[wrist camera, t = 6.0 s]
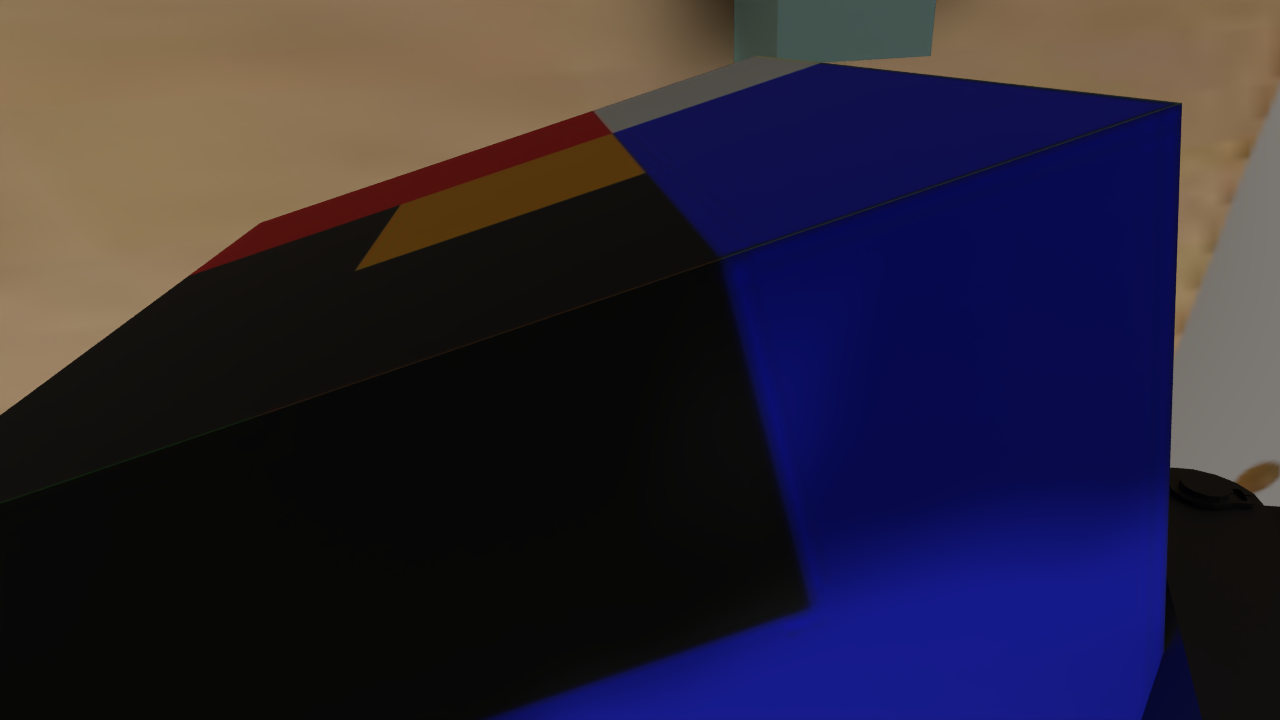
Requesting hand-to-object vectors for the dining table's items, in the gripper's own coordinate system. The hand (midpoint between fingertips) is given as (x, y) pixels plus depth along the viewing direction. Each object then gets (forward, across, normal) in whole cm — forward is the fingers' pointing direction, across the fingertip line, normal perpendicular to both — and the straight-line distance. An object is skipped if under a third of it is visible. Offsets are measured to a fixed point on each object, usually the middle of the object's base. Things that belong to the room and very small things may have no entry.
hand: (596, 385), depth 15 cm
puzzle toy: (+1, 0, 0) cm, 1 cm away
